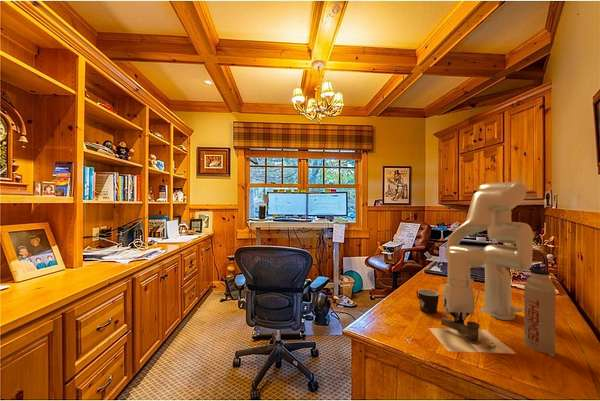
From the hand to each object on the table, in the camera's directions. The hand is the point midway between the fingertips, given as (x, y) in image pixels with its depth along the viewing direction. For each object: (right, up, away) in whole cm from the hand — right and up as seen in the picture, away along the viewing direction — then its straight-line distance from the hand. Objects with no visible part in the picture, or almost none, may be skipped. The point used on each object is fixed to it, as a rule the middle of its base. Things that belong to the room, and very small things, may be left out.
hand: (459, 328), depth 103 cm
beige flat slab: (0, -3, -6) cm, 7 cm away
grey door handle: (-1, 0, -5) cm, 5 cm away
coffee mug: (-3, -2, +20) cm, 20 cm away
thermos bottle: (+22, -3, -10) cm, 24 cm away
